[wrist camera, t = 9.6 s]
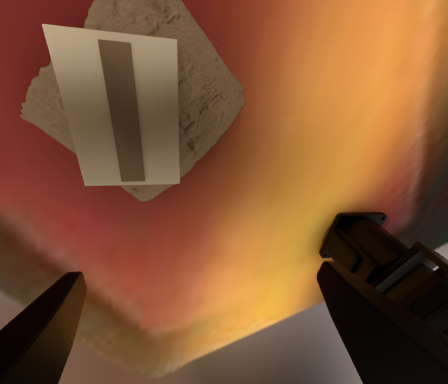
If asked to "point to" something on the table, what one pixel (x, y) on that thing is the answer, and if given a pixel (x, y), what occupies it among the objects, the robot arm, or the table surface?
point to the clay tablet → (187, 81)
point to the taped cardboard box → (119, 104)
